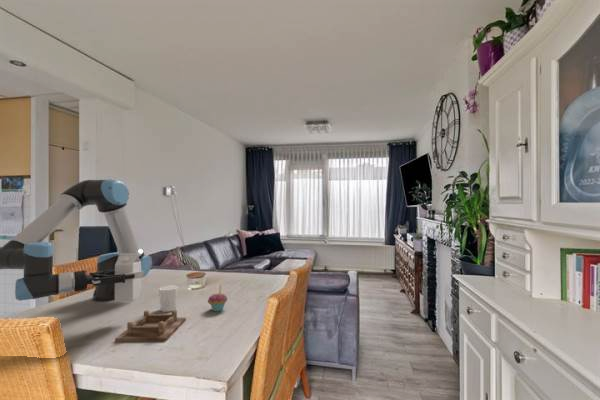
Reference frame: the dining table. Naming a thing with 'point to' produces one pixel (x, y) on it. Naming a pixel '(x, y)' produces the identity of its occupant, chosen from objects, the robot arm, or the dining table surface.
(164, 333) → the walnut stand
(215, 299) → the cupcake
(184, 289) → the dining table surface
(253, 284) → the dining table surface
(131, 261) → the milk carton
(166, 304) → the white cup
